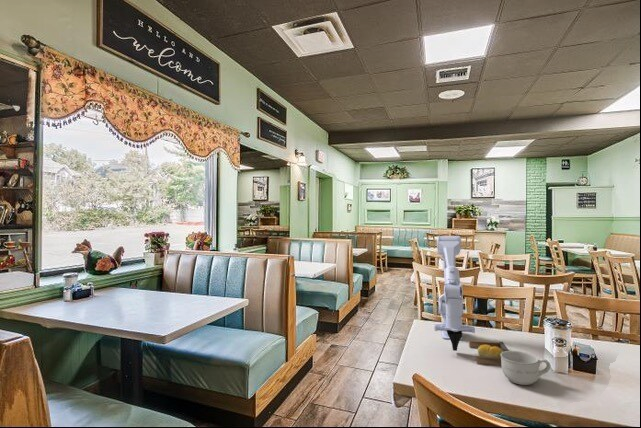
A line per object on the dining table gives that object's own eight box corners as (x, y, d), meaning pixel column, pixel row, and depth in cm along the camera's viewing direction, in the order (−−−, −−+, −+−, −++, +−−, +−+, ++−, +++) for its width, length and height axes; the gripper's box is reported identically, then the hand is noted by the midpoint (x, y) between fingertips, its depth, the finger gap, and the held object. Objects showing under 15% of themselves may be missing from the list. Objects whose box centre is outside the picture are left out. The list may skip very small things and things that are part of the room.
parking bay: (469, 346, 137) (468, 340, 137) (503, 348, 134) (502, 341, 134) (477, 363, 121) (477, 357, 121) (515, 366, 118) (515, 359, 118)
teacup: (501, 384, 107) (500, 359, 107) (500, 369, 117) (500, 346, 116) (554, 394, 100) (553, 368, 100) (549, 378, 110) (548, 353, 110)
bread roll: (482, 349, 134) (482, 339, 133) (506, 356, 127) (506, 345, 127) (473, 356, 128) (473, 346, 128) (498, 363, 121) (498, 352, 121)
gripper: (434, 317, 128) (436, 352, 129) (476, 319, 125) (477, 355, 125) (433, 311, 135) (434, 345, 135) (472, 313, 132) (473, 347, 132)
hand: (454, 349), depth 131 cm, fingers closed
